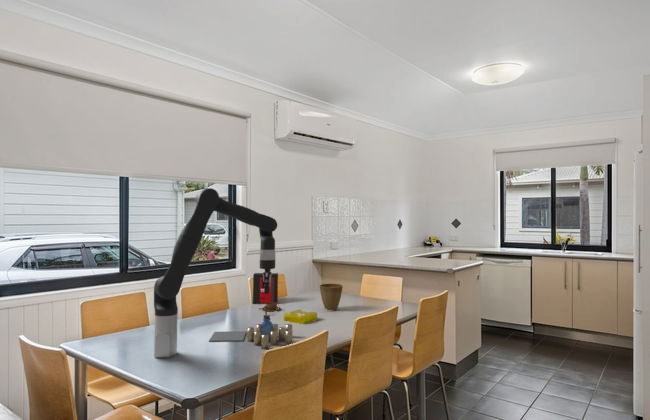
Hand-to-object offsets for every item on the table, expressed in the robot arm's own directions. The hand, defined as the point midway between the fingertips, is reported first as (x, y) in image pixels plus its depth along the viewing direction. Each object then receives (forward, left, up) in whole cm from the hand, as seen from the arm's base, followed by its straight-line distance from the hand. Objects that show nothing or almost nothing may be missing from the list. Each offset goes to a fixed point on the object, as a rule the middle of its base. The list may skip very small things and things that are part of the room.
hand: (267, 292), depth 207 cm
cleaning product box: (+92, +5, -23) cm, 95 cm away
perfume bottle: (0, 0, -23) cm, 23 cm away
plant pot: (+68, -38, -23) cm, 81 cm away
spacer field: (0, -2, -23) cm, 23 cm away
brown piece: (+65, +3, -24) cm, 70 cm away
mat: (+7, +19, -23) cm, 31 cm away
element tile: (+41, -18, -24) cm, 51 cm away
